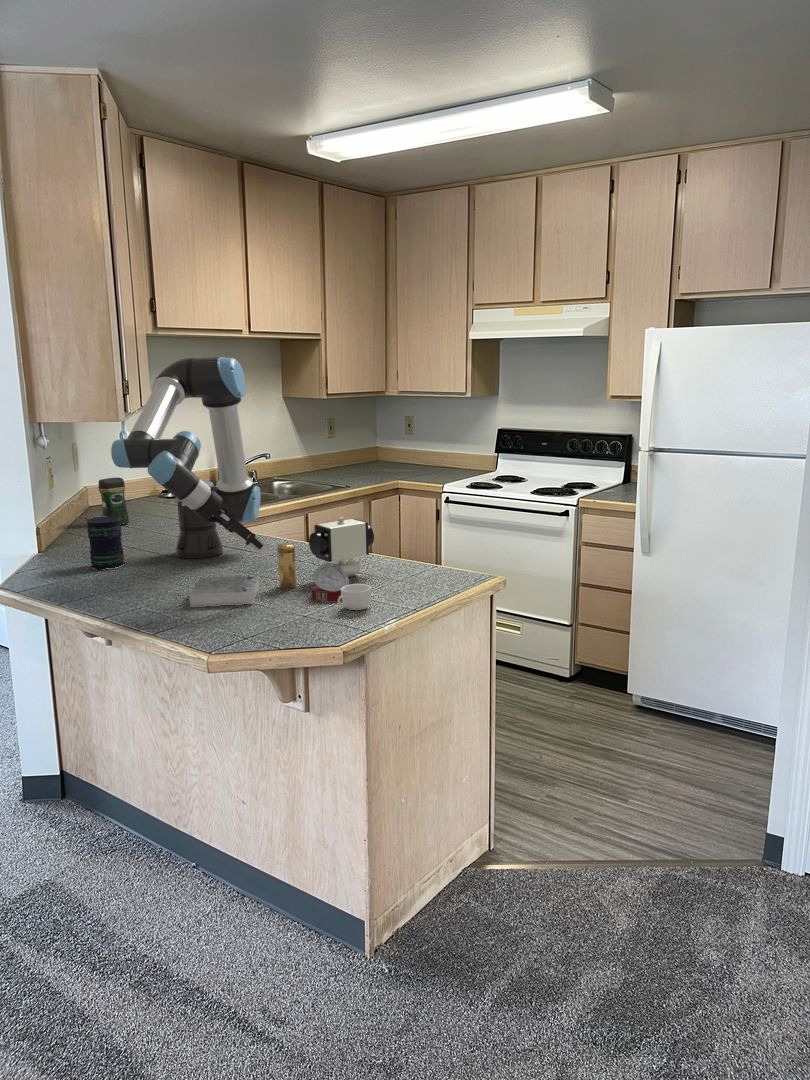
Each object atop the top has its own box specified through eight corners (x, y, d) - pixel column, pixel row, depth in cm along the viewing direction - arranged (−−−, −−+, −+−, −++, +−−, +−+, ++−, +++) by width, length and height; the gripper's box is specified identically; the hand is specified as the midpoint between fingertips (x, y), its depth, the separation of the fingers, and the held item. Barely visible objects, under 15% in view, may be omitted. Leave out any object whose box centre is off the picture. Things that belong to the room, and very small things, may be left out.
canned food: (345, 609, 218) (362, 577, 216) (334, 616, 209) (351, 584, 207) (310, 588, 220) (326, 557, 218) (297, 594, 210) (314, 562, 208)
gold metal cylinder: (280, 584, 226) (278, 543, 223) (297, 584, 226) (295, 542, 223) (279, 589, 221) (276, 547, 219) (296, 588, 222) (294, 546, 219)
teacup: (357, 602, 209) (357, 582, 207) (378, 607, 203) (377, 587, 202) (328, 610, 202) (327, 590, 200) (348, 617, 196) (348, 596, 195)
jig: (201, 589, 222) (200, 575, 221) (259, 587, 223) (258, 573, 222) (190, 607, 206) (189, 592, 206) (252, 604, 208) (252, 589, 207)
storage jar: (84, 568, 248) (79, 521, 245) (109, 561, 256) (104, 515, 253) (107, 571, 243) (102, 523, 240) (131, 564, 252) (127, 517, 249)
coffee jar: (123, 521, 320) (118, 475, 316) (131, 524, 314) (127, 477, 310) (99, 525, 314) (94, 478, 310) (107, 528, 308) (102, 480, 304)
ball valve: (359, 569, 241) (357, 511, 237) (375, 574, 234) (374, 515, 230) (307, 579, 231) (304, 519, 227) (323, 586, 224) (320, 523, 220)
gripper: (180, 503, 217) (237, 551, 227) (205, 518, 195) (267, 570, 205) (198, 482, 218) (254, 530, 228) (225, 495, 197) (285, 547, 207)
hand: (260, 549), depth 217 cm, fingers open, 13 cm apart
